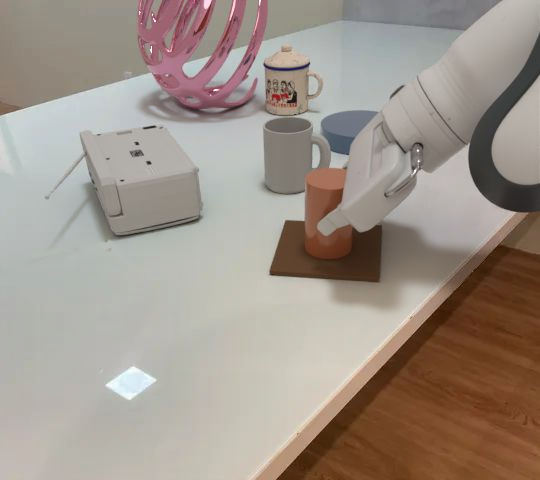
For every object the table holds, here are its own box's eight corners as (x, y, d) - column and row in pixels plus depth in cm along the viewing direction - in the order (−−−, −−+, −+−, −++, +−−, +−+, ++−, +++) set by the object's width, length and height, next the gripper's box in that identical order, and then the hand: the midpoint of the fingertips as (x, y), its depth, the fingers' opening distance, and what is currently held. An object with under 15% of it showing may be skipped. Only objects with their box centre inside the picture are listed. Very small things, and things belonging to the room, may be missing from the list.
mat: (381, 228, 74) (382, 224, 74) (379, 282, 65) (379, 277, 64) (285, 223, 76) (285, 219, 76) (269, 274, 67) (269, 270, 66)
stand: (399, 127, 103) (401, 110, 101) (399, 156, 93) (401, 138, 91) (323, 125, 105) (324, 109, 103) (316, 153, 95) (316, 136, 93)
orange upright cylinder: (353, 236, 72) (358, 168, 66) (350, 261, 67) (355, 190, 62) (307, 234, 73) (308, 166, 67) (301, 257, 68) (301, 187, 62)
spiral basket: (266, -25, 121) (162, -112, 101) (330, 33, 106) (224, -55, 87) (199, 91, 134) (96, 34, 114) (248, 156, 120) (140, 103, 100)
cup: (270, 173, 89) (268, 115, 83) (332, 177, 87) (335, 118, 82) (260, 192, 84) (257, 132, 78) (326, 197, 82) (328, 135, 76)
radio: (170, 167, 92) (46, 190, 87) (162, 115, 87) (29, 136, 82) (208, 220, 78) (61, 252, 72) (201, 162, 72) (42, 192, 67)
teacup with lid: (257, 113, 112) (254, 48, 104) (275, 100, 118) (273, 38, 110) (314, 120, 108) (315, 53, 100) (329, 105, 114) (331, 41, 107)
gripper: (444, 192, 53) (335, 273, 61) (433, 120, 68) (348, 192, 76) (402, 143, 50) (295, 234, 58) (400, 80, 66) (316, 159, 73)
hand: (325, 210), depth 67 cm, fingers open, 8 cm apart
